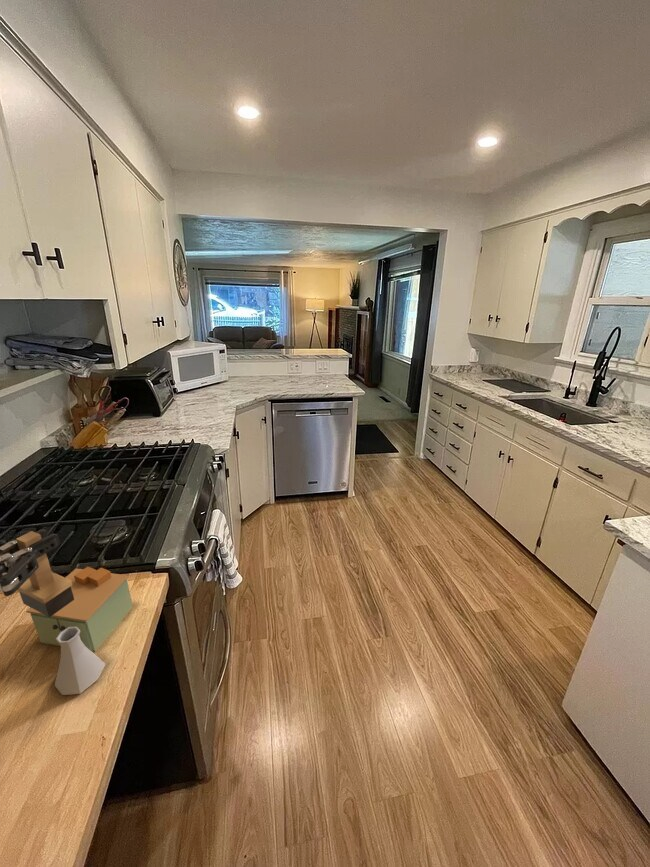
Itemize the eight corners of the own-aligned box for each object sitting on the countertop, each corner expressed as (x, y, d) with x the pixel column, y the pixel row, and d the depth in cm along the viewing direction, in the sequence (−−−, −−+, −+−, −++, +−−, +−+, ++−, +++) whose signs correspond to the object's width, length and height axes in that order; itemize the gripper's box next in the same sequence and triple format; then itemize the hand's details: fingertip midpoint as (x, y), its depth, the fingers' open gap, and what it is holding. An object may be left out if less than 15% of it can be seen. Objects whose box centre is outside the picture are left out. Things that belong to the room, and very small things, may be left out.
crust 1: (84, 585, 73) (82, 579, 72) (75, 581, 74) (73, 575, 73) (98, 575, 75) (96, 570, 75) (89, 571, 76) (87, 566, 76)
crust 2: (98, 586, 73) (96, 580, 72) (89, 582, 74) (87, 576, 73) (111, 576, 75) (110, 571, 75) (102, 573, 76) (101, 567, 76)
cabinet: (35, 645, 69) (23, 612, 66) (84, 598, 80) (75, 568, 77) (93, 656, 67) (83, 622, 64) (135, 605, 78) (128, 575, 76)
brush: (49, 618, 56) (26, 551, 52) (21, 604, 59) (-3, 538, 54) (76, 599, 60) (58, 534, 56) (49, 586, 63) (29, 523, 58)
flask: (45, 690, 61) (29, 648, 58) (82, 653, 68) (69, 613, 64) (80, 701, 60) (66, 658, 56) (113, 661, 66) (103, 621, 63)
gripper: (-81, 611, 39) (74, 527, 55) (-138, 575, 45) (19, 507, 60) (-57, 660, 42) (85, 566, 57) (-113, 620, 47) (31, 544, 62)
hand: (51, 536), depth 58 cm, fingers closed on brush, 2 cm apart
